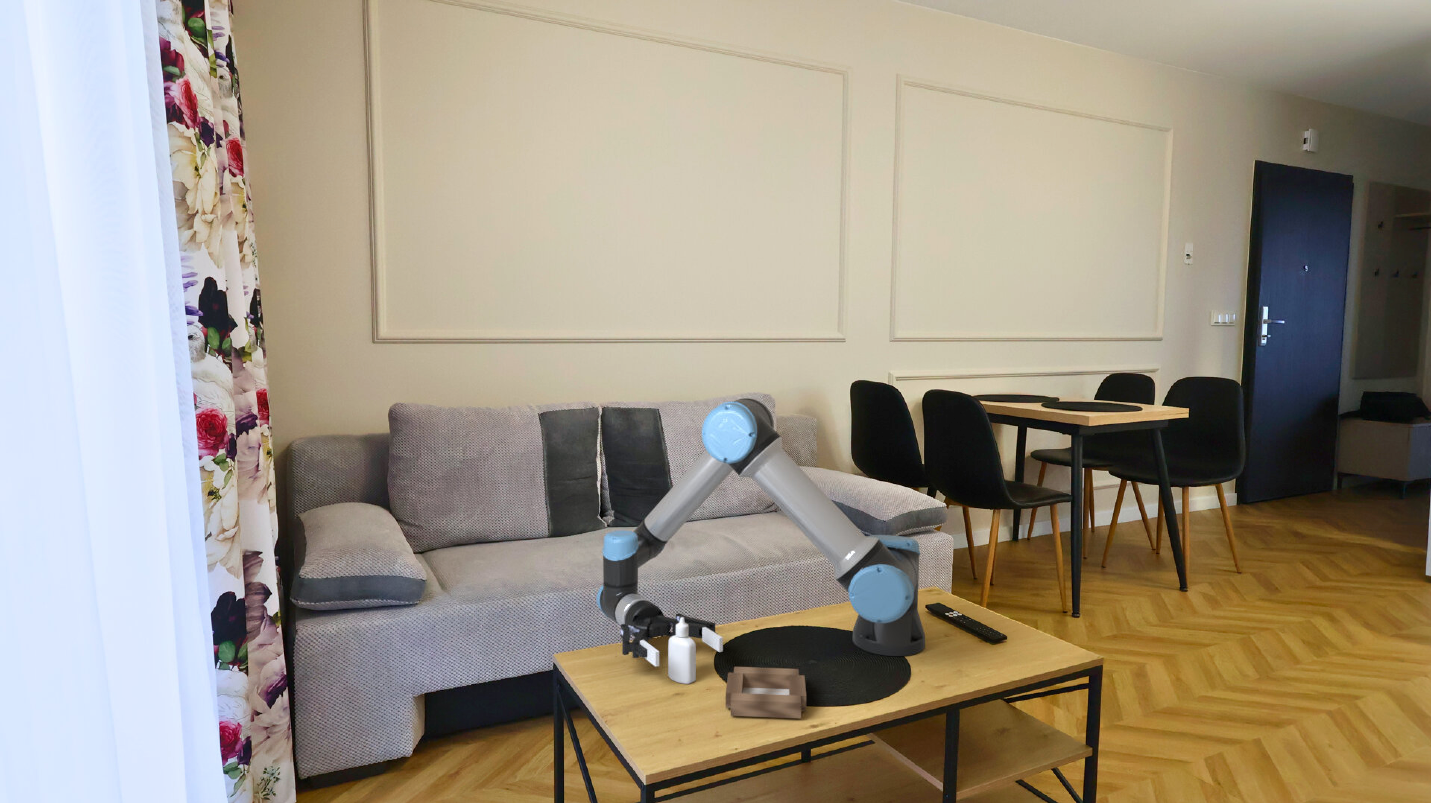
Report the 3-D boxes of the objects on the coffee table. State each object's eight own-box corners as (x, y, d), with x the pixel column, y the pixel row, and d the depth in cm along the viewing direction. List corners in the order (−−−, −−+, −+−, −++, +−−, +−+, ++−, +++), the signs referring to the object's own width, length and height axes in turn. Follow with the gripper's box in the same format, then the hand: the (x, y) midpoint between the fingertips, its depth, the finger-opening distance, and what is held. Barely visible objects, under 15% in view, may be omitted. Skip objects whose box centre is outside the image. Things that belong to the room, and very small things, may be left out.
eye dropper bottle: (687, 671, 160) (688, 611, 159) (697, 683, 155) (698, 621, 154) (666, 674, 158) (666, 614, 157) (675, 686, 153) (675, 624, 152)
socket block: (803, 685, 154) (803, 669, 154) (806, 721, 140) (807, 702, 140) (728, 683, 155) (728, 666, 155) (724, 717, 141) (724, 699, 141)
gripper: (692, 624, 178) (745, 657, 160) (584, 646, 165) (629, 685, 147) (692, 590, 178) (746, 620, 159) (583, 609, 165) (629, 644, 147)
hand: (690, 651), depth 153 cm, fingers open, 13 cm apart
